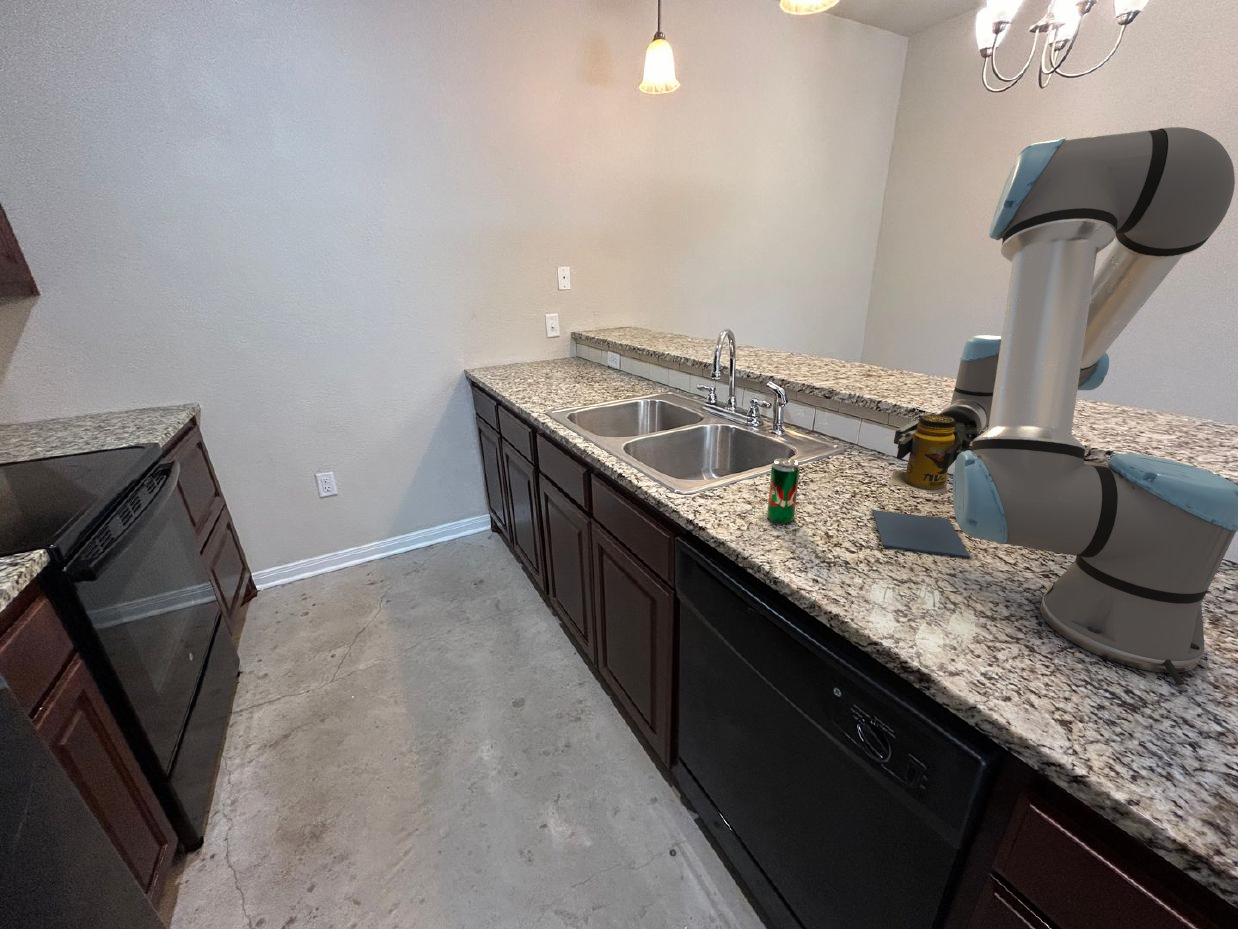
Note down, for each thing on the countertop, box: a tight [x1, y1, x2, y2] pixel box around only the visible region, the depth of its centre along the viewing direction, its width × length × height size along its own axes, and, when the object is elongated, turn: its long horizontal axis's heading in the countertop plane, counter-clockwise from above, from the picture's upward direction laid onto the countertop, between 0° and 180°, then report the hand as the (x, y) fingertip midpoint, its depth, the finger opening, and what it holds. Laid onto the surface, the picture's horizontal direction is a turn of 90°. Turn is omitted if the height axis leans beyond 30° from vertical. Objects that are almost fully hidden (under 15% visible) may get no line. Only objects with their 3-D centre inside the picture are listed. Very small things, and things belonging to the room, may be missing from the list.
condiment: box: [889, 413, 956, 495], centre depth 86 cm, size 7×8×12 cm
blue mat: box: [872, 510, 971, 559], centre depth 91 cm, size 14×13×1 cm
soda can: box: [766, 457, 801, 525], centre depth 95 cm, size 5×5×12 cm
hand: (922, 455), depth 82 cm, fingers closed on condiment, 6 cm apart
